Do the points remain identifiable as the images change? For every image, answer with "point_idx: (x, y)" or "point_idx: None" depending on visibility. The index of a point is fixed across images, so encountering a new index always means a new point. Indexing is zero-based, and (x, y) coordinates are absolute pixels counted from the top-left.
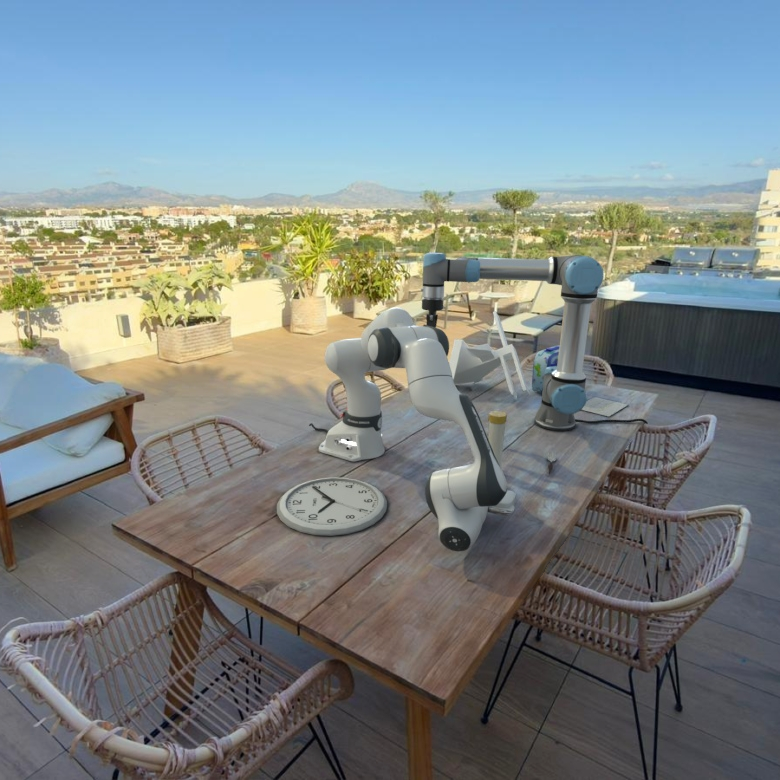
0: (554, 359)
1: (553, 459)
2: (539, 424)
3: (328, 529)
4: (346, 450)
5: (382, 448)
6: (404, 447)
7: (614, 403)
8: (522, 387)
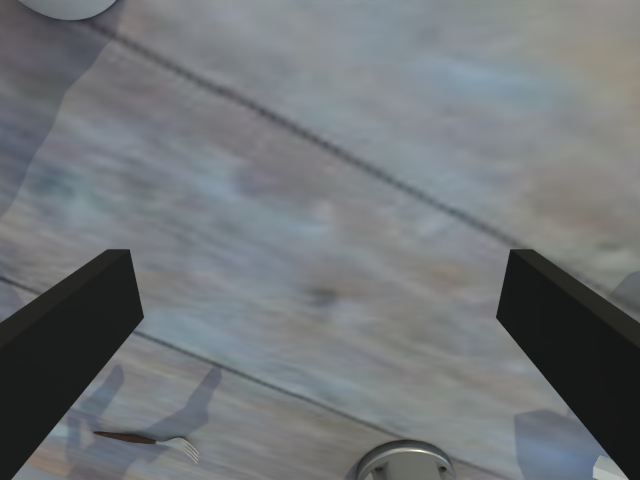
0: None
1: (178, 447)
2: (381, 450)
3: None
4: None
5: (42, 8)
6: (140, 91)
7: None
8: (610, 474)
